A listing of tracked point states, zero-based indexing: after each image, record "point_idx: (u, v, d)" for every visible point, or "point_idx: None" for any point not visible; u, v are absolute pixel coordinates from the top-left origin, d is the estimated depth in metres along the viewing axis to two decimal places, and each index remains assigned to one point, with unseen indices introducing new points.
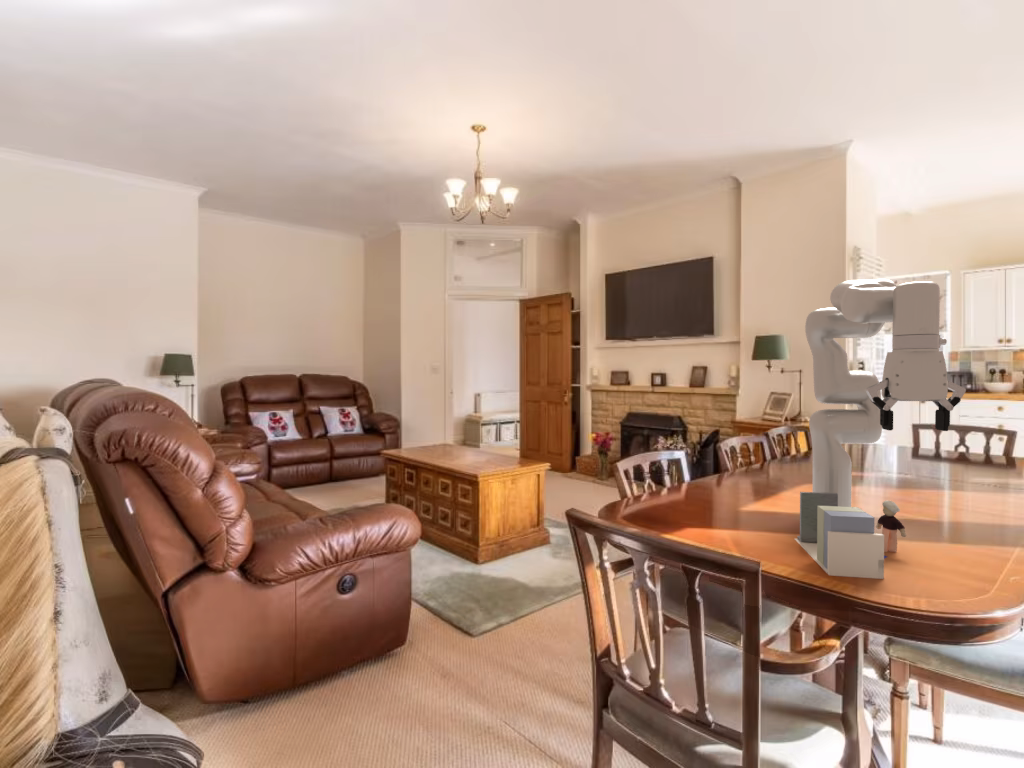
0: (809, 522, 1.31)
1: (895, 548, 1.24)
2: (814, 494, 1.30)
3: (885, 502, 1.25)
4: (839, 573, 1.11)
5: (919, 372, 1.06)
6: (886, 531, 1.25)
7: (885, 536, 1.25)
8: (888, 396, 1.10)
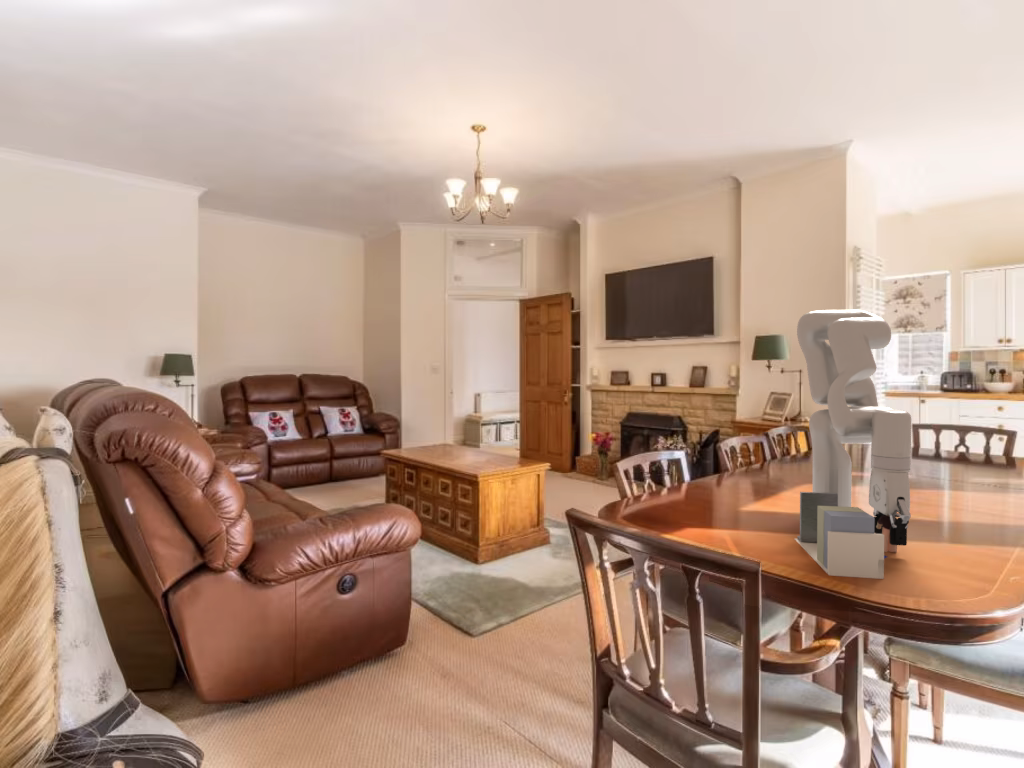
0: (809, 522, 1.31)
1: (895, 548, 1.24)
2: (814, 494, 1.30)
3: None
4: (839, 573, 1.11)
5: None
6: (886, 531, 1.25)
7: (885, 536, 1.25)
8: (897, 513, 1.21)
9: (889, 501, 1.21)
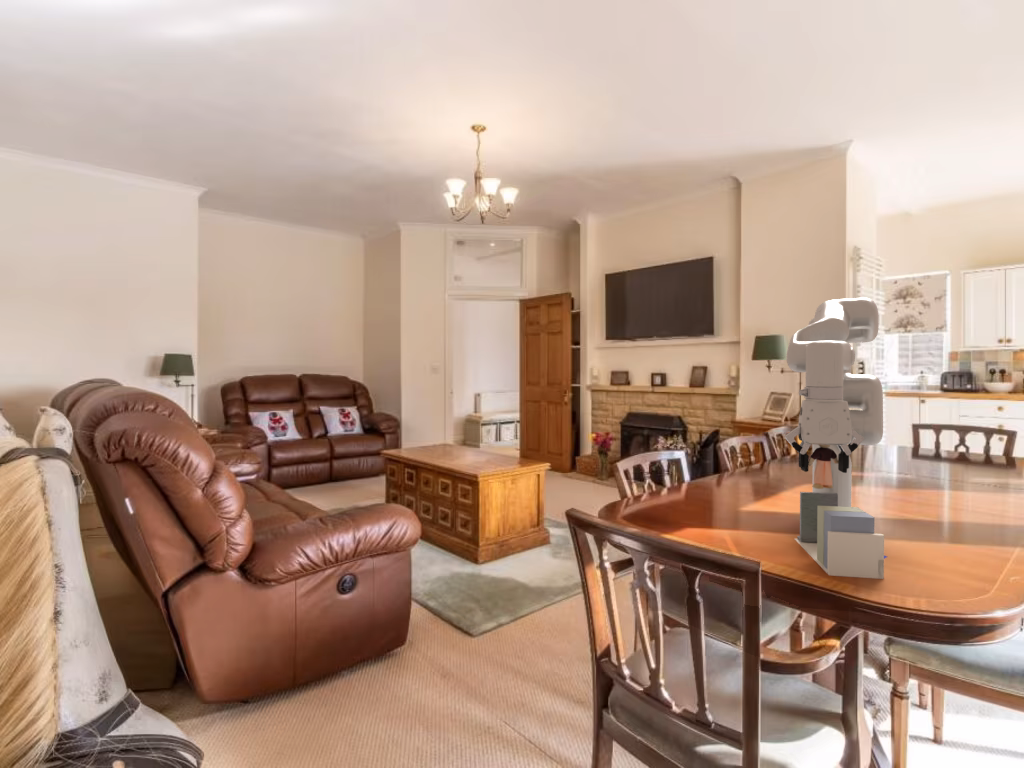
0: (809, 522, 1.31)
1: None
2: (814, 494, 1.30)
3: None
4: (839, 573, 1.11)
5: None
6: (828, 463, 1.24)
7: (829, 468, 1.23)
8: None
9: (851, 429, 1.21)
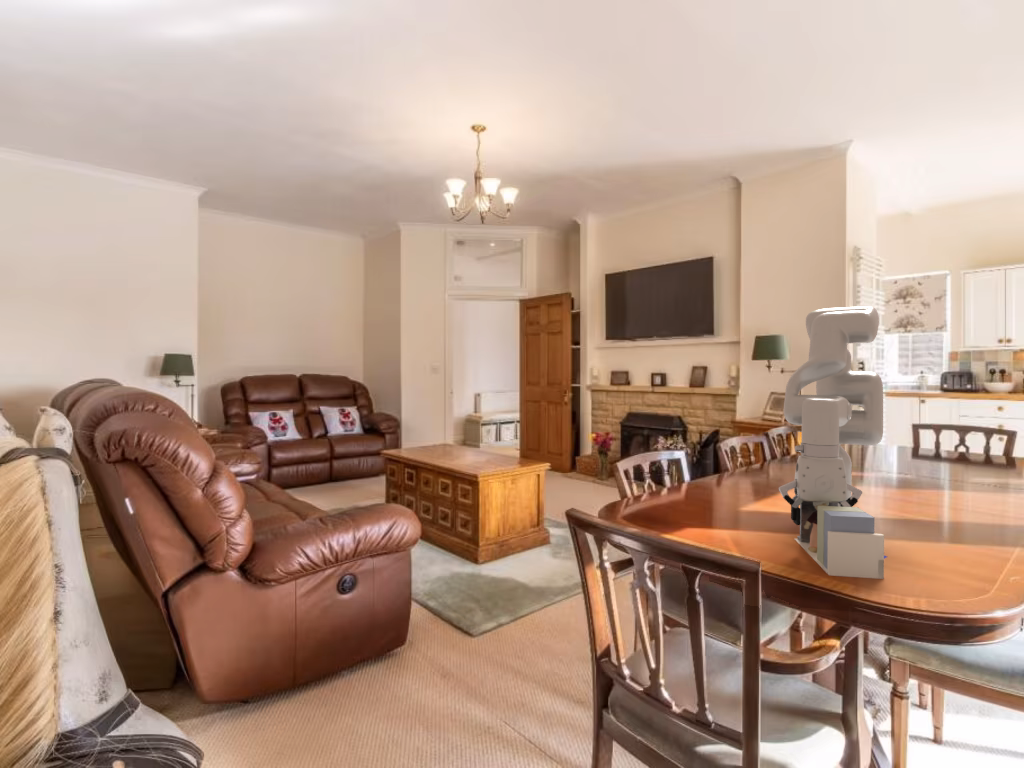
0: None
1: None
2: None
3: None
4: (839, 573, 1.11)
5: None
6: None
7: None
8: None
9: (846, 487, 1.22)
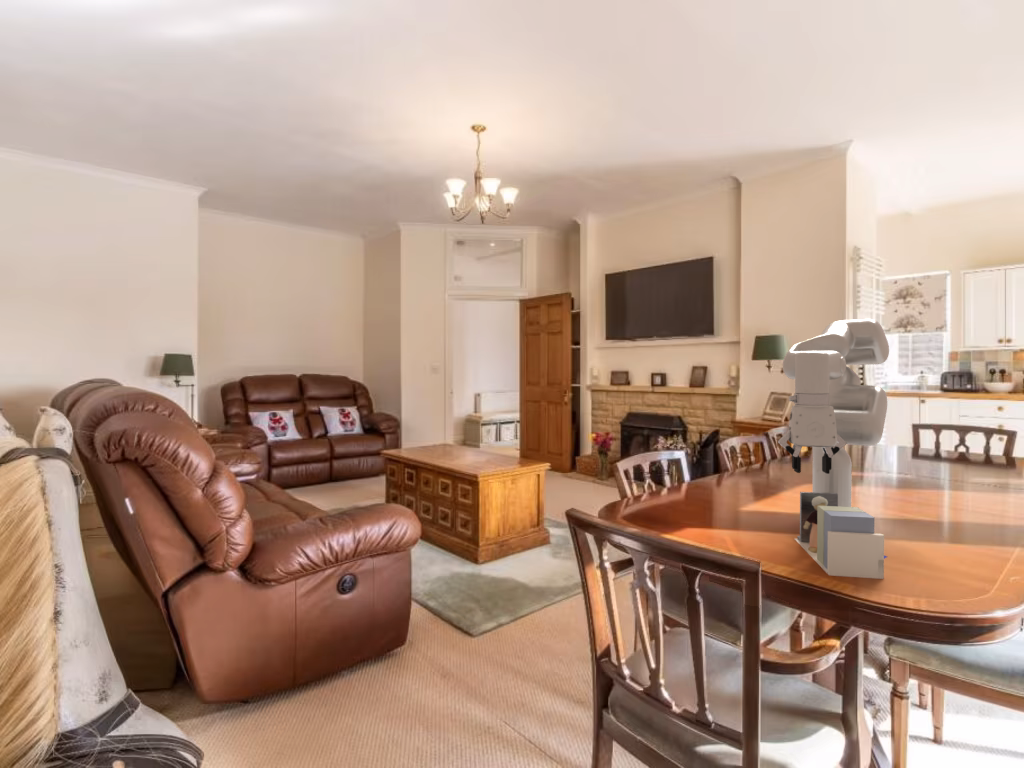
0: None
1: None
2: (814, 494, 1.30)
3: (822, 498, 1.24)
4: (839, 573, 1.11)
5: None
6: None
7: None
8: None
9: (836, 432, 1.32)
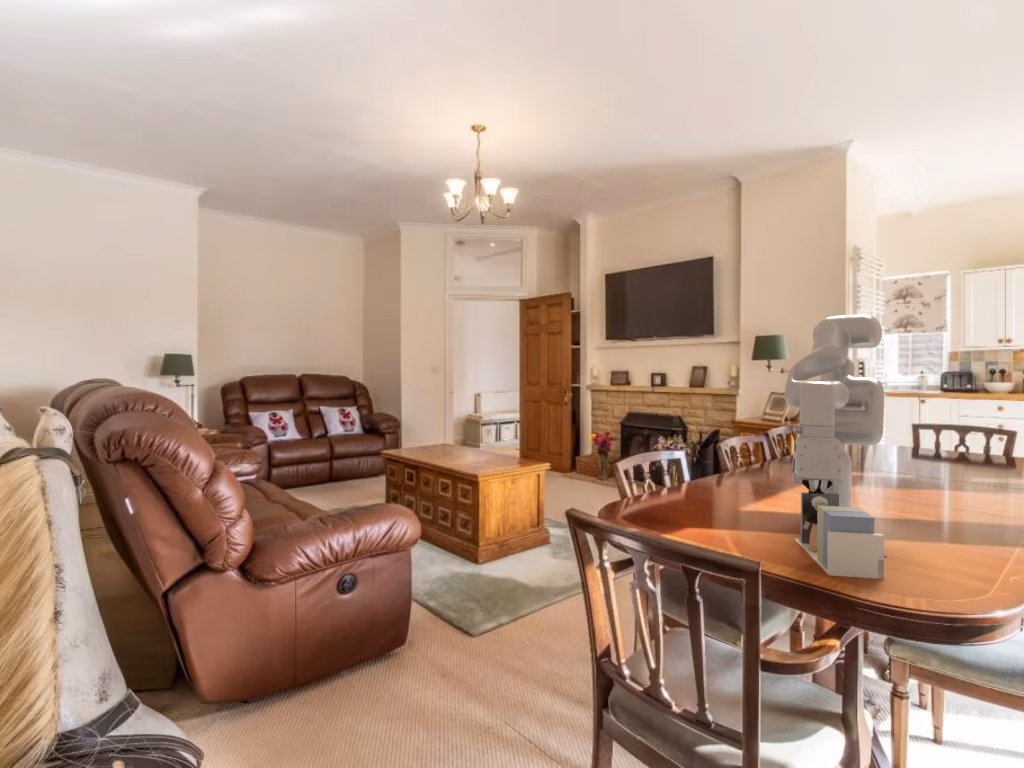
0: None
1: None
2: (815, 494, 1.30)
3: (822, 499, 1.24)
4: (839, 573, 1.11)
5: None
6: None
7: None
8: None
9: (842, 466, 1.29)
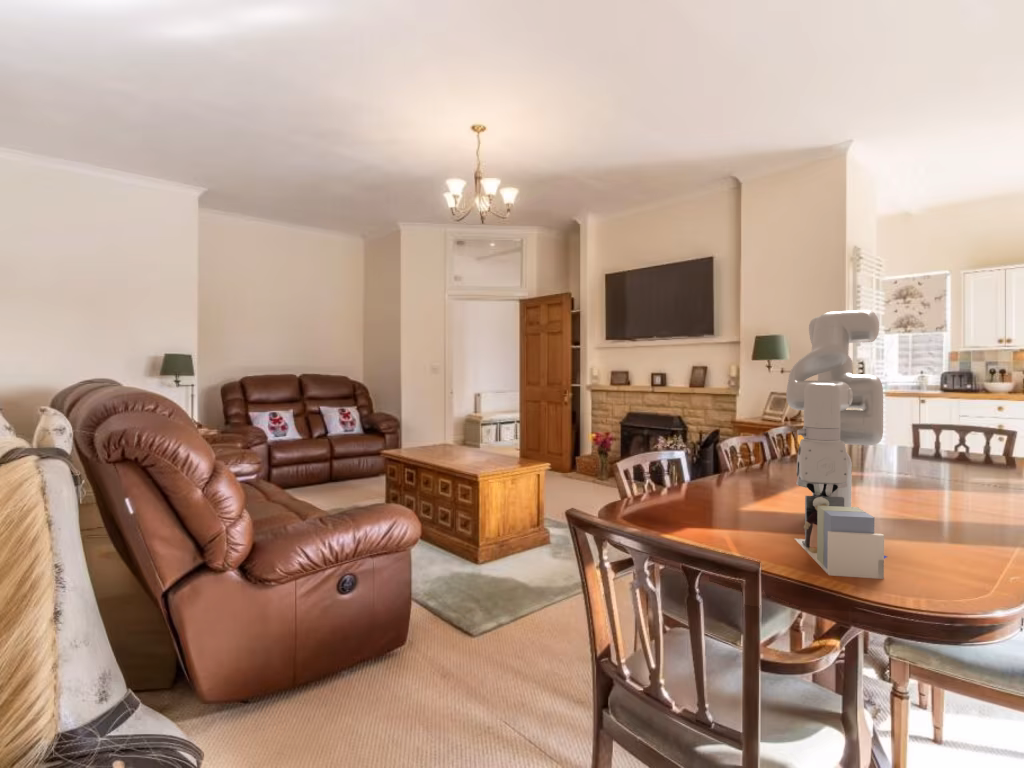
0: None
1: None
2: None
3: (823, 499, 1.23)
4: (839, 573, 1.11)
5: None
6: None
7: None
8: None
9: (848, 469, 1.25)
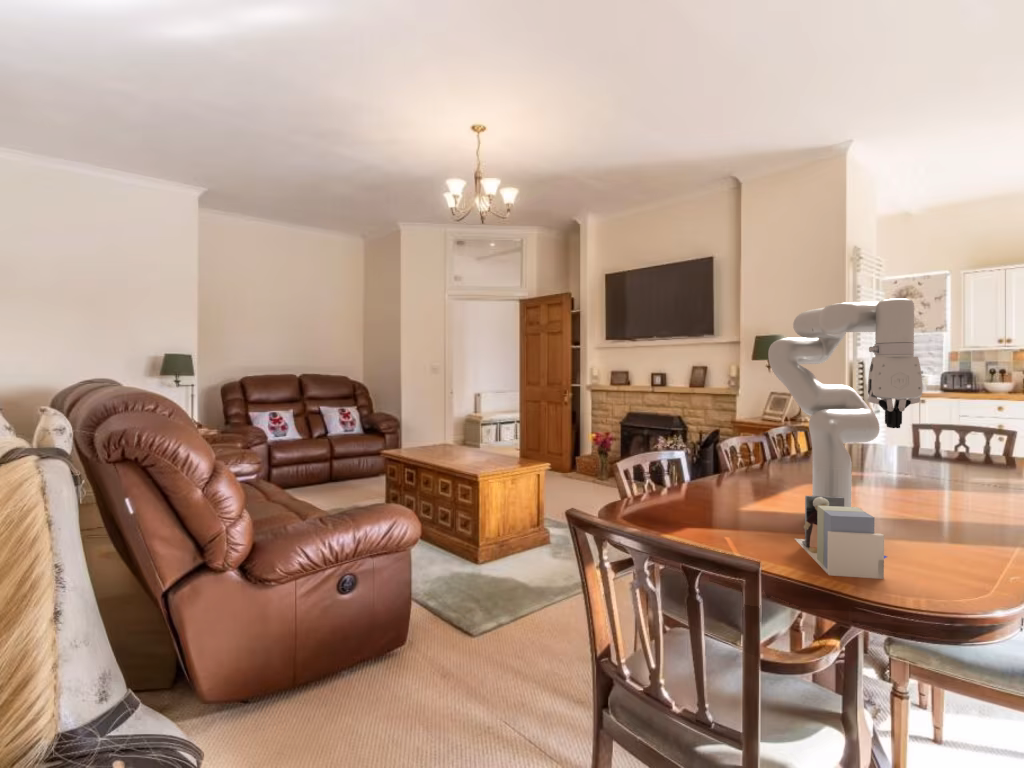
0: None
1: None
2: None
3: (823, 499, 1.23)
4: (839, 573, 1.11)
5: None
6: None
7: None
8: None
9: None
